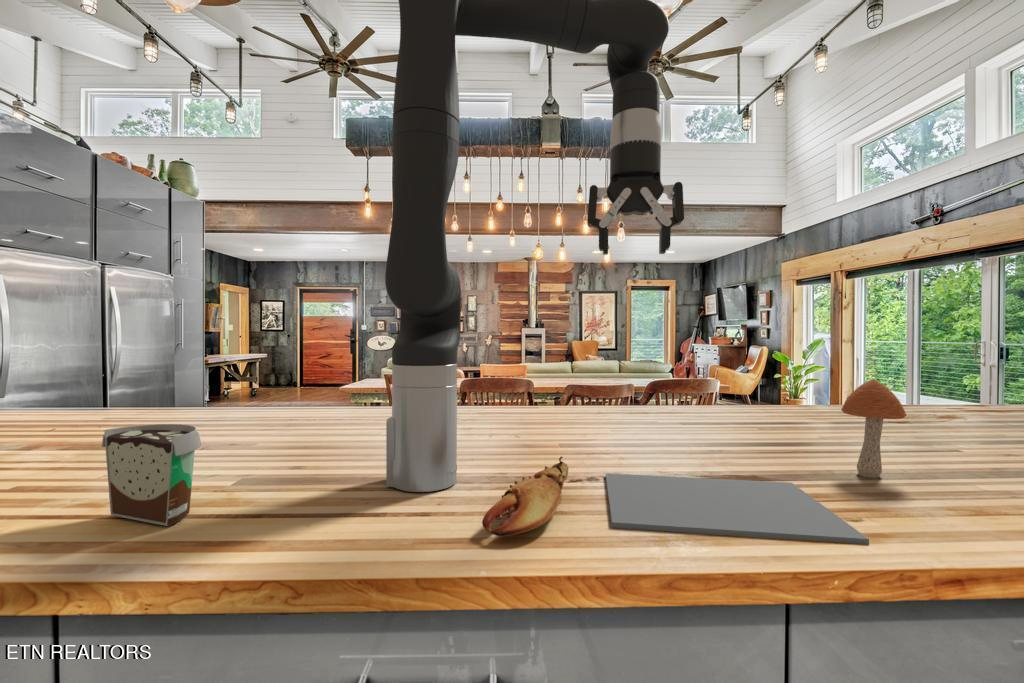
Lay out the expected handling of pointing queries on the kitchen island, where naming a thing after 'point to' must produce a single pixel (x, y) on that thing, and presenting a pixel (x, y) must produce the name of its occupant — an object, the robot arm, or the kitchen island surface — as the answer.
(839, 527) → the mat
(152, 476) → the food container
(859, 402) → the mushroom
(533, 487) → the crab claw
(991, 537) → the kitchen island surface
